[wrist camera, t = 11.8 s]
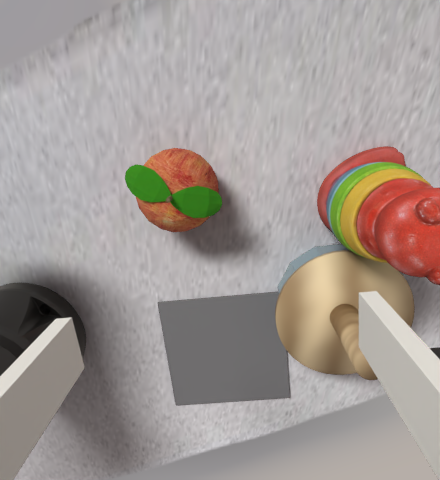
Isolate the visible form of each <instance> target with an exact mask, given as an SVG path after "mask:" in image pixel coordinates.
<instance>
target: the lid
mask: <svg viewBox="0 0 440 480" xmlns="http://www.w3.org/2000/svg"><path fill="white" fill-rule="evenodd" d="M371 291H377V292H378V293H379V294H380V295H381V297H382V298H383V299H384V300H385V301H386V302H387V303H388V304H389V305H390V306H391V307H392V308H393V310H394V311H395V312H396V313H397V314H398V315H399V316H400V317H401V318H402V319H403V320H404V321H405V322H406V324H407V325H408V326H409V327H410V328H411V326H412V323H413V318H414V299H413V295H412V292H411V289H410V287H409V285H408V283H407V281H406V279H405V278H404V277H403V275H402V274H401V273H400V272H399V271H398V270H396V269H395V268H394V267H392V266H391V265H390V264H389V263H384V262H378V261H374V260H371V259H368V258H365V257H362V256H360V255H357V254H355V253H354V252H352V251H350V250H340V251H333V252H329V253H325V254H322V255H320V256H317V257H315V258H313V259H311V260H309V261H308V262H306V263H305V264H303V265H302V266H300V267H299V268H298V269H297V270H296V271H295V272H294V273H293V274H292V275H291V276H290V277H289V278H288V280H287V281H286V282H285V284H284V285H283V287H282V289H281V291H280V293H279V296H278V299H277V303H276V309H275V320H276V327H277V331H278V334H279V337H280V340H281V342H282V344H283V345H284V347H285V349H286V350H287V351H288V352H289V354H290V355H291V356H292V357H293V358H295V359H296V360H297V361H298V362H300V363H301V364H303V365H304V366H306V367H308V368H310V369H313V370H315V371H318V372H322V373H326V374H335V375H344V374H353V373H358V374H359V375H360V376H361V377H362V378H364V379H367V380H377V379H378V378H377V376H376V375H375V373H374V371H373V370H372V368H371V366H370V365H369V363H368V361H367V360H366V358H365V356H364V355H363V353H362V351H361V350H360V348H359V293H360V292H371Z"/></svg>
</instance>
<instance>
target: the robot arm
mask: <svg viewBox="0 0 440 480" xmlns="http://www.w3.org/2000/svg"><path fill="white" fill-rule="evenodd" d="M85 346H86V336H85V331H84V327H83V324H82V322H81V320H80V318H79V316H78V314H77V313H76V311H75V310H74V309H73V307H72V306H71V305H70V304H69V303H68V302H67V301H66V300H65V299H63V298H62V297H61V296H59V295H58V294H56V293H55V292H53V291H51V290H49V289H47V288H45V287H42V286H39V285H35V284H30V283H10V284H6V285H2V286H0V480H14V478H15V476H16V475H17V473H18V472H19V470H20V469H21V467H22V465H23V464H24V462H25V461H26V459H27V458H28V456H29V454H30V453H31V451H32V450H33V448H34V447H35V445H36V443H37V442H38V440H39V439H40V437H41V436H42V434H43V432H44V431H45V429H46V428H47V426H48V425H49V423H50V422H51V420H52V418H53V417H54V415H55V414H56V412H57V411H58V409H59V407H60V406H61V404H62V403H63V401H64V400H65V398H66V396H67V395H68V393H69V392H70V390H71V389H72V387H73V385H74V384H75V382H76V381H77V379H78V378H79V376H80V374H81V373H82V371H83V370H84V368H85V367H84V363H83V359H82V357H83V354H84V351H85ZM359 348H360V350H361V351H362V353H363V355H364V356H365V358H366V360H367V361H368V363H369V365H370V366H371V368H372V370H373V371H374V373H375V375H376V376H377V378H378V380H379V381H380V383H381V385H382V386H383V388H384V390H385V391H386V393H387V395H388V396H389V398H390V400H391V401H392V403H393V405H394V406H395V408H396V410H397V411H398V413H399V415H400V416H401V418H402V420H403V422H404V423H405V425H406V426H407V428H408V430H409V431H410V433H411V435H412V437H413V438H414V440H415V441H416V443H417V445H418V446H419V448H420V450H421V452H422V453H423V455H424V457H425V458H426V460H427V461H428V463H429V465H430V467H431V468H432V470H433V471H434V473H435V475H436V477H437V478H438V480H440V348H429V347H428V346H427V345H426V344H425V343H424V342H423V341H422V340H421V339H420V338H419V336H418V335H417V334H416V333H415V332H414V331H413V330H412V329H411V328H410V327H409V326H408V325H407V324H406V322H405V321H404V320H403V319H402V318H401V317H400V316H399V315H398V314H397V313H396V312H395V311H394V310H393V308H392V307H391V306H390V305H389V304H388V303H387V302H386V301H385V300H384V299H383V298H382V297H381V295H380V294H379V293H378V292H377V291H371V292H360V293H359Z"/></svg>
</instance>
